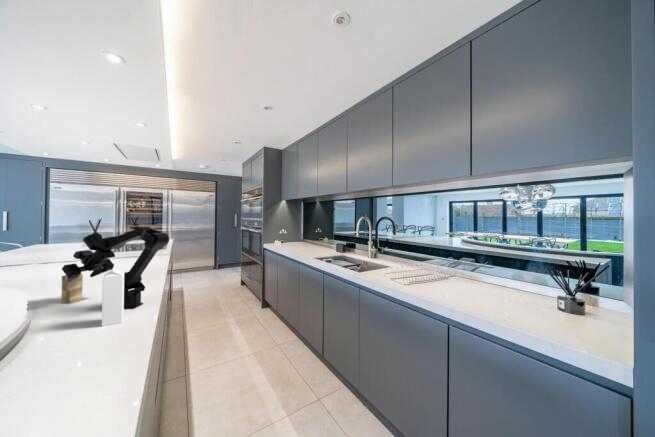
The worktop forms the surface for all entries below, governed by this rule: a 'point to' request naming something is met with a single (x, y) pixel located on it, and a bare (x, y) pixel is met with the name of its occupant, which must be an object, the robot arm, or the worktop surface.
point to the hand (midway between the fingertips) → (79, 278)
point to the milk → (112, 297)
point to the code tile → (71, 302)
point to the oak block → (71, 289)
